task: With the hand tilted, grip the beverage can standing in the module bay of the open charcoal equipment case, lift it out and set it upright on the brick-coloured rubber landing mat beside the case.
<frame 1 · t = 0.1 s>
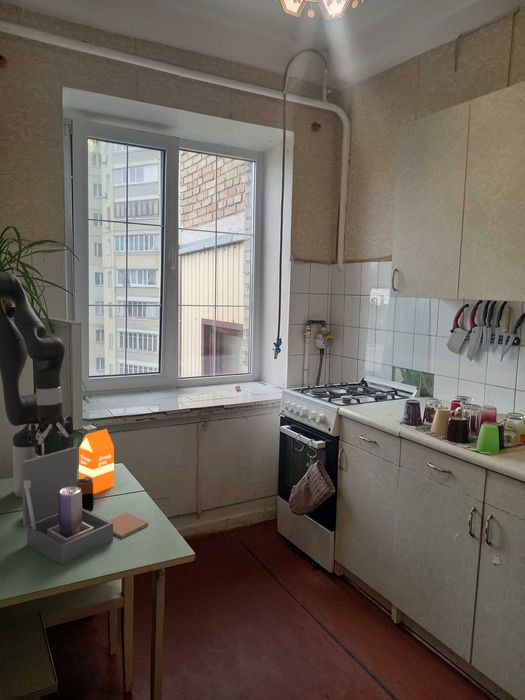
hand: (52, 452, 159), 17 cm above the table, tool pointing down, fingers open, 8 cm apart
landing mat: (123, 526, 149), on the table
orange juice: (96, 487, 175), on the table
battery: (81, 509, 159), on the table
equipment case: (70, 541, 139), on the table
beverage can: (70, 542, 139), resting in equipment case
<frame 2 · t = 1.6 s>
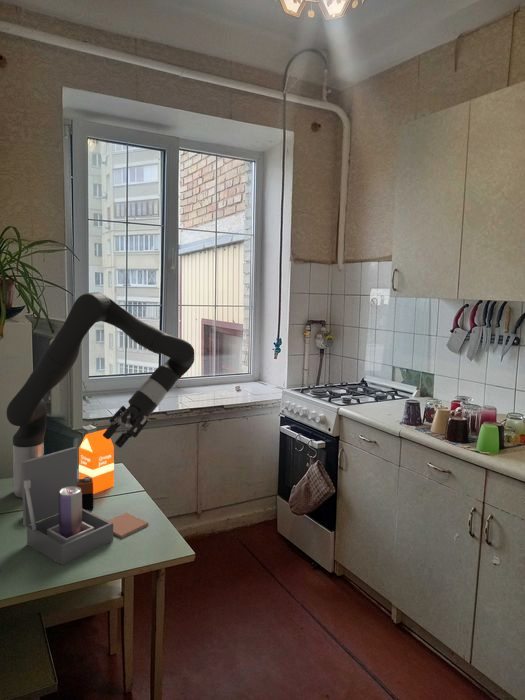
hand: (111, 441, 143), 27 cm above the table, tool tilted 45°, fingers open, 8 cm apart
nothing on the table moved.
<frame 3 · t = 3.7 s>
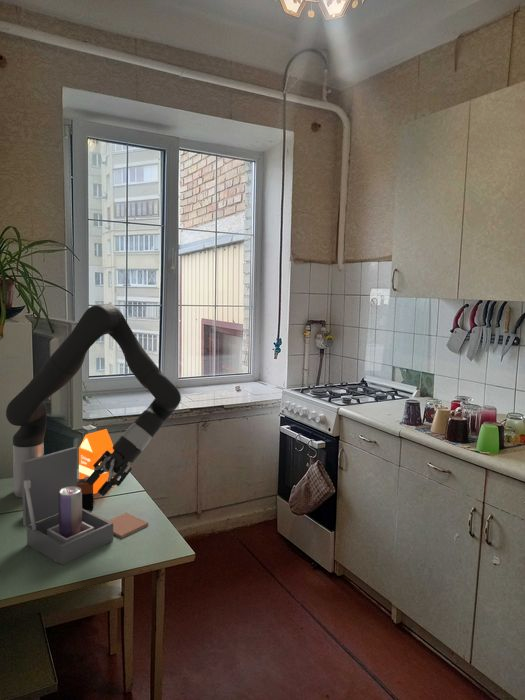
hand: (94, 489, 141), 14 cm above the table, tool tilted 45°, fingers open, 8 cm apart
nothing on the table moved.
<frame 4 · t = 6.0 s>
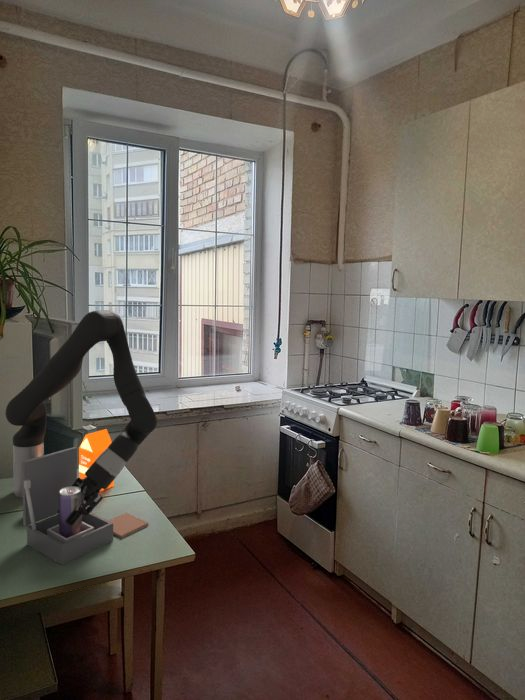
hand: (64, 518, 137), 7 cm above the table, tool tilted 45°, fingers closed on beverage can, 6 cm apart
beverage can: (70, 542, 139), resting in equipment case, touching gripper
everything else where it was.
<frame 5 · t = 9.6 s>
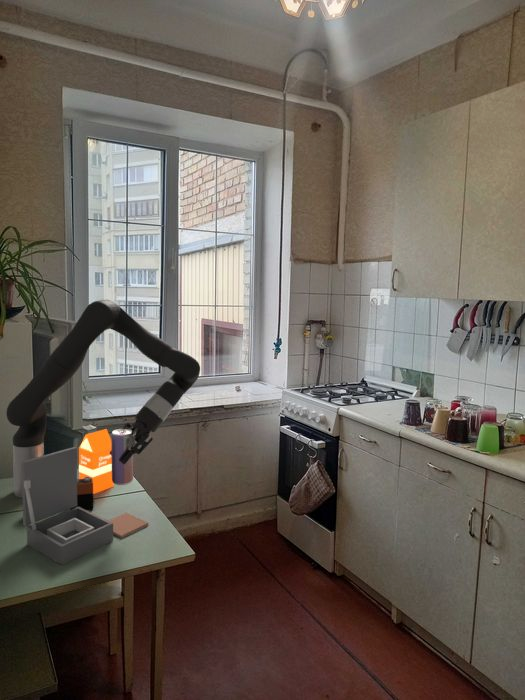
hand: (116, 458, 144), 21 cm above the table, tool tilted 45°, fingers closed on beverage can, 6 cm apart
beverage can: (122, 482, 147), point 14 cm above the table, touching gripper
everything else where it was.
when the fingers open (9 cm above the table, at t = 13.5 s): beverage can drops 1 cm, resting on landing mat.
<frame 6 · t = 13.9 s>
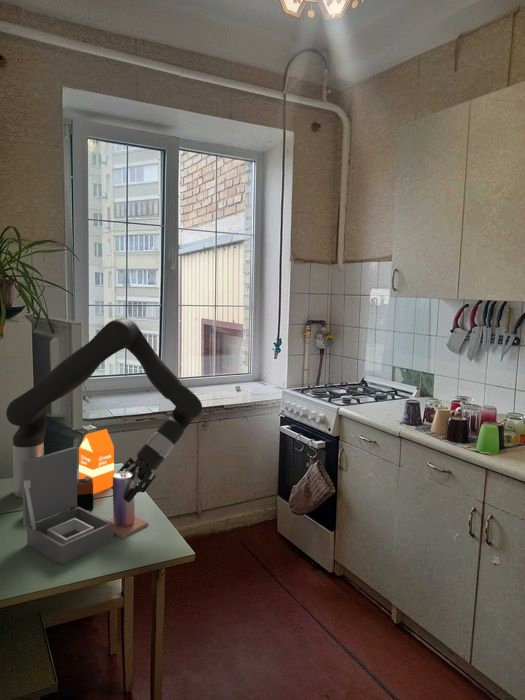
hand: (119, 495, 147), 10 cm above the table, tool tilted 45°, fingers open, 8 cm apart
beverage can: (124, 523, 149), point 1 cm above the table, touching landing mat
everything else where it was.
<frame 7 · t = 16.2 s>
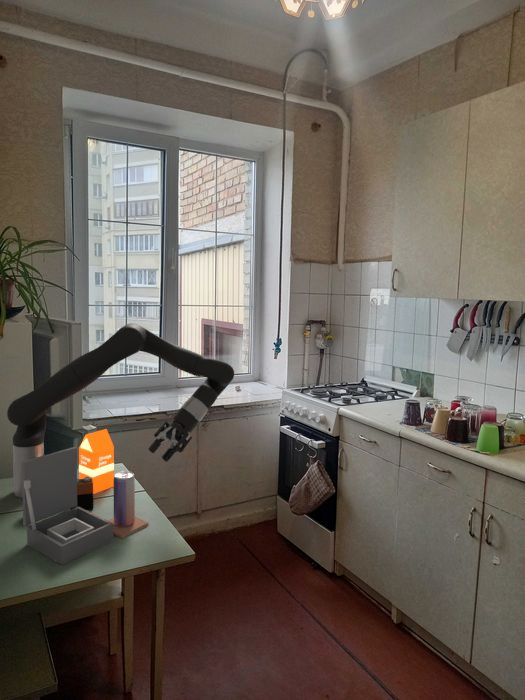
hand: (157, 455, 154), 19 cm above the table, tool tilted 45°, fingers open, 8 cm apart
nothing on the table moved.
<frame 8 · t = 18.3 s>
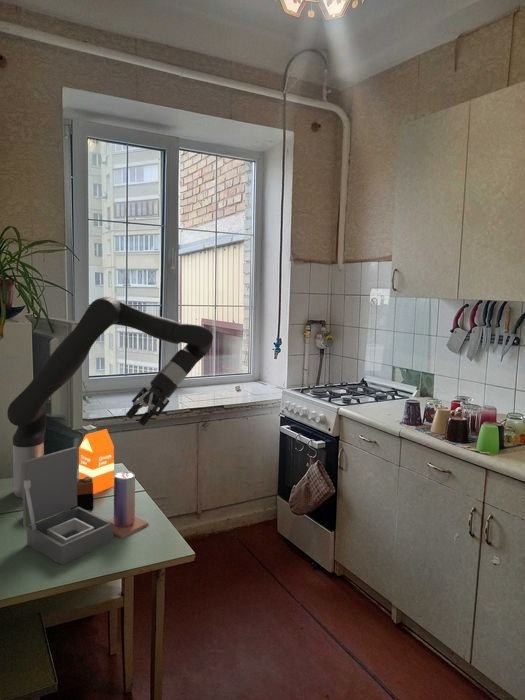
hand: (134, 420, 151), 31 cm above the table, tool tilted 45°, fingers open, 8 cm apart
nothing on the table moved.
at the end: beverage can inside the target area on the landing mat (0.2 cm from its centre), point 0.6 cm above the landing mat's base; beverage can tilted 1°; the gripper is holding nothing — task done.
